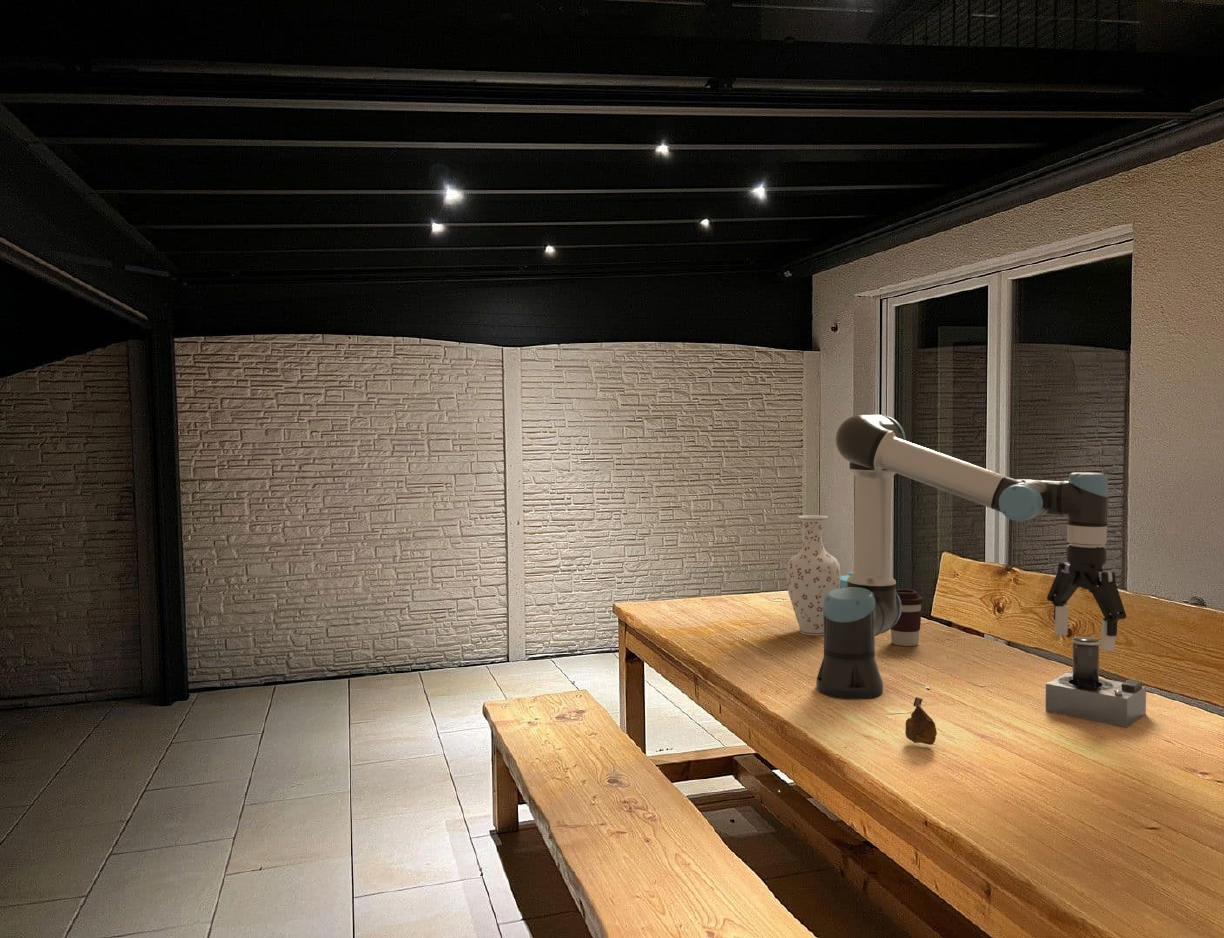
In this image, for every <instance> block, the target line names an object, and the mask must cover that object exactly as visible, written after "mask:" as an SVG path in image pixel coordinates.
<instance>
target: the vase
mask: <svg viewBox="0 0 1224 938" xmlns="http://www.w3.org/2000/svg"><path fill="white" fill-rule="evenodd" d="M797 517H798V519H799V520H801V522H802V525H803V531H804V541H803V544H802V548H801V550H800V551H799V552H798V553H796V554H795V555H793V556H792V557H790V559H788V562H787V566H786V567H787V568H786V573H785V574H786V584H787V592H788V595H789V599H790V601H791V605H792V608H793V611H794V615H795V617H796V620H797V624H798V628H799V633H801V634H803V635H806V636H824V626H823V605H824V597H825V595H826V594H827V593H828V592H829V591H831V590H834V589H838V588H839V589H840V578H841V576H842V574H841V566H840V562H839V561H838V559H837V558H836V557H835V556H833V555H831V553H829V552H828V551H827V550H826V548H825V547H824V543H823V535H822V534H823V528H824V527H823V526H824V523H825V521H826V519H828V518H829V516H828V515H817V514H814V515H813V514H812V515H811V514H809V515H808V514H807V515H799V516H797Z"/></svg>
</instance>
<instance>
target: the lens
mask: <svg viewBox="0 0 1224 938" xmlns="http://www.w3.org/2000/svg"><path fill="white" fill-rule="evenodd" d="M1071 643H1072V673H1073V685H1076V686H1081V687H1091V688H1095V687H1099V678H1100V665H1099V664H1100V646H1101V639H1099V638H1095V637H1089V636H1075V637H1072V638H1071Z"/></svg>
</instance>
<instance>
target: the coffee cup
mask: <svg viewBox="0 0 1224 938" xmlns="http://www.w3.org/2000/svg"><path fill="white" fill-rule="evenodd" d="M896 593H897V594H898V596H899V598H900V600H901V605H902V610H901V615H900V618H899V620H898V621H897V623H896V624H895V625H894V626H893V627H892V628H891V629H890V636H891V637H890V638H891V639H890V640H891V643H892V644H893V645H895V646H900V647H914V646H917V645H918V644H919V639H920V631H921V624H922V622H921V621H922V605H923V604H924V597H923V596H921V595H919V592H918V591H917V590H914V589H906V588H905V589H904V588H903V589H896Z"/></svg>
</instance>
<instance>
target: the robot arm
mask: <svg viewBox="0 0 1224 938" xmlns="http://www.w3.org/2000/svg"><path fill="white" fill-rule="evenodd" d="M906 439H907V438H906V433H905V430H904V428H903V427H902V425H901V424H900V423H899V422H898V420H896V419H894V418H893V417H890V416H888V415H884V414H877V413H876V414H855V415H852V416H851V417H848V418H846V419H845V420H844V421H843V422H841V424H840V426H839V427H838V429H837V432H836V435H835V444H836V446H835V447H836V448H837V451H838V452H839V454H840V455H841V456H842V458H843V459H845V460H846V461H848V462H849V466H848V467H849V471H850V472H851V473H852V474H853V475H854V477H855V487H854V488H855V494H854V495H855V497H854V499H855V500H854V540H853V541H854V542H853V543H854V545H853V546H854V550H853V572H854V573H853V574H852V575H851V576H850V577H849V578H848V579H847V587H844V588H842V589H839V588H838V589H834V590H831V591H829V592H828V593H827V594H826V595H825V597H824V605H823V626H824V635H823V658H822V661H821V664H820V667H819V670H818V674H817V677H816V681H815V683H816V690H817V692H818V693H821V694H823V695H825V696H828V697H833V698H838V699H849V700H852V699H853V700H862V699H863V700H864V699H866V700H867V699H872V698H876V697H879V696H881V695H882V694H883V692H884V691H883V689H884V687H883V686H884V684H883V683H884V682H883V679H882V676H881V674H880V671H879V667H878V664H877V661H876V658H875V657H876V655H875V654H876V649H875V648H876V642H875V641H876V637H878V636H879V635H880V634H884V633H887V632H888V631H889V630H890V631H891V628H892V627H893V626H894V625H895V624H896V623H897V621H898V620H899V618H900V615H901V610H902V605H901V600H900V598H899V596H898V594H897V593H896V590H897V582H896V581H897V580H896V579H894V578H893V576H892V575H891V542H892V541H891V540H892V539H891V535H892V497H893V495H892V493H893V489H892V488H893V477H894V476H895V475H896V474H897V475H900V476H903V477H906V478H908V479H911V480H913V481H915V482H919V483H922V484H925V485H927V486H930V487H932V488H935V489H938V490H941V491H943V492H946V493H949V494H952V495H954V496H957V497H960V498H963V499H964V500H968V501H969V502H973V503H976V504H978V505H981V506H985V507H987V508H989V509H992V510H995V511H996V512H998V513H1002V514H1003V516H1004V517H1006V518H1007V519H1010V520H1012V521H1015V522H1026V521H1029V520H1032V519H1034V518H1036V517H1038V516H1040V515H1041V516H1042V515H1044V516H1045V515H1047V516H1061V517H1064V516H1065V517H1067V531H1066V532H1067V533H1066V542H1067V543H1068V544H1067V545H1066V561H1067V562H1058V565H1057V573H1056V575H1055V577H1054V579H1053V583H1051V587H1050V589H1049V592H1048V594H1047V596H1046V599H1047V600H1046V601H1048V602H1051V603H1052V605H1053V606H1054V607H1053V608H1054V609H1053V619H1054V636H1055V637H1061V636H1068V633H1069V632H1068V629H1069V605H1068V601H1069V600H1070V599H1071V597H1072V596H1073V595H1074V593H1075V592H1076V591H1077V589H1078V588H1082V589H1083V590H1088V592H1089V593H1091V594H1092V596H1093V598H1094V600H1095V601H1096V604H1097V606H1098V607H1099V610H1100V611H1101V613H1102V616H1103V619H1101V630H1100V631H1101V635H1100V638H1101V639H1100V651H1102V652H1115V650H1116V649H1115V647H1116V637H1117V634H1118V621H1119V620H1120V621H1121V620H1125V619H1127V614H1126V611H1125V607H1124V605H1123V601H1122V599H1121V595H1120V592H1119V589H1118V586H1117V582H1116V581H1117V580H1116V574H1115V571H1104V570H1103V566H1104V565H1105V564H1106V563H1107V548H1106V546H1104V545H1107V540H1108V539H1107V538H1108V537H1107V536H1108V534H1107V533H1108V513H1109V512H1108V511H1109V496H1110V494H1109V479H1108V476H1107V475H1106V474H1104V473H1101V472H1086V471H1085V472H1080V471H1079V472H1071V473H1070V474H1069V476H1068V479H1067V480H1060V481H1057V480H1042V479H1040V480H1039V479H1029V478H1025V479H1014V478H1012V477H1010V476H1006V475H1004V474H1000V473H997V472H995V471H992V470H990V469H986V468H983V467H981V466H978V465H975V464H972V463H970V462H967V461H964V460H961V459H958V458H955V457H952V456H950V455H947V454H945V453H942V452H940V451H939V452H937V451H935V450H934V449H930V448H927V447H924V446H921V445H918V444H916V443H912V442H910V441H907V440H906Z"/></svg>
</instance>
